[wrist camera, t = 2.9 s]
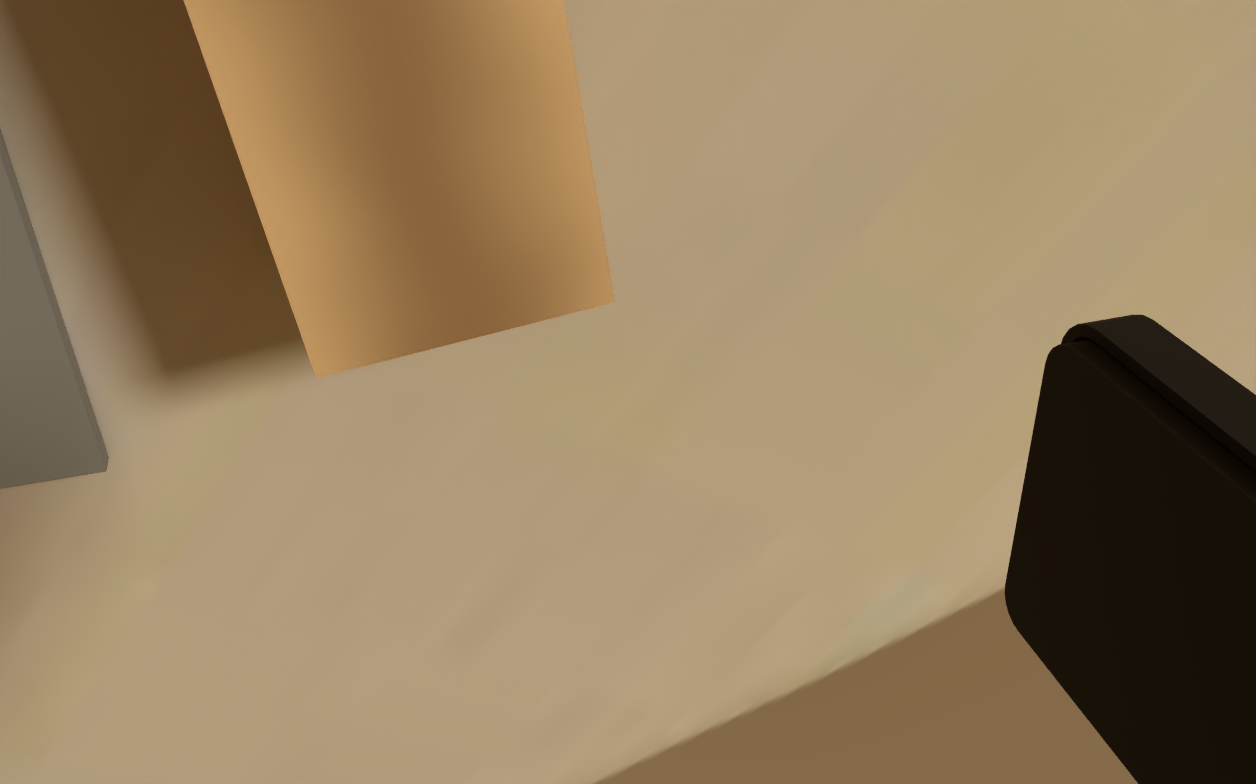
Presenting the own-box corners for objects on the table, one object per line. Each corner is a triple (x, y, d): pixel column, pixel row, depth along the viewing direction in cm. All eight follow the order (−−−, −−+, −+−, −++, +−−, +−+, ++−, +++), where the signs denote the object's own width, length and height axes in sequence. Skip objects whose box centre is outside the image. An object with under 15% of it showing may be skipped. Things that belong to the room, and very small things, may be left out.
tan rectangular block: (462, -339, 20) (508, -332, 16) (563, 204, 25) (615, 301, 22) (125, -280, 19) (93, -258, 15) (307, 266, 25) (315, 378, 21)
